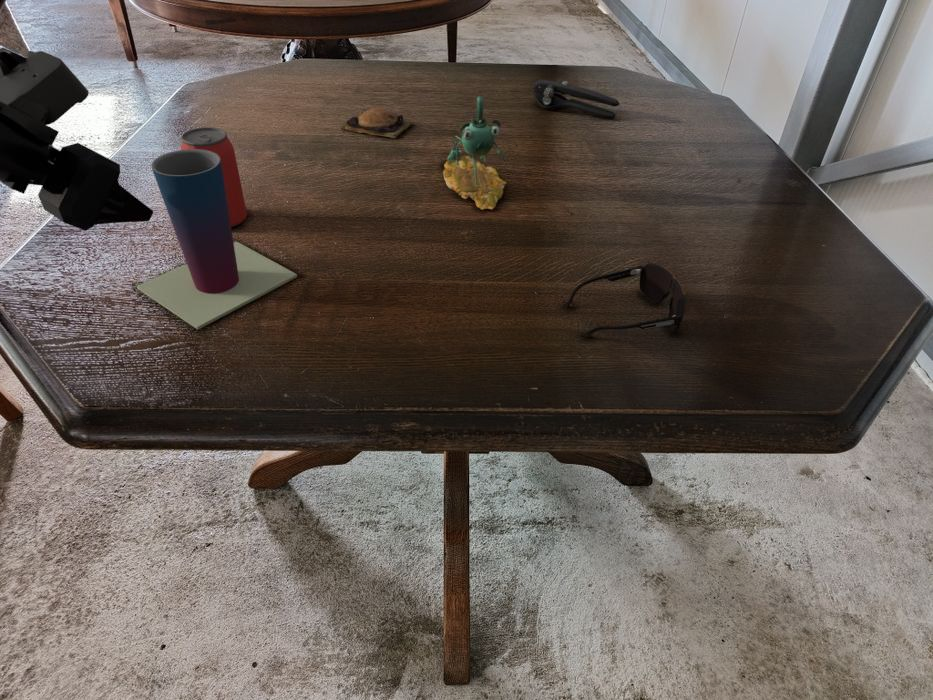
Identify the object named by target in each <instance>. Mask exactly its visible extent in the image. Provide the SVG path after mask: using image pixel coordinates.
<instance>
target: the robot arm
mask: <svg viewBox="0 0 933 700" xmlns="http://www.w3.org/2000/svg"><path fill="white" fill-rule="evenodd" d="M6 3H7V0H0V13H1V12H2V10H3V8H4V6H5V4H6ZM26 54H27V55H28V56H27V57H25V56H23V55H21V54H19V53H16V52H14V51H12V50H11V49H7V48H6V47H0V183H2V184H3V185H5V186H6V187H8V188H9V189H11V190H13V191H15V192H18V193H21V194H25V193H26V191H27V188H28V186H29V185H34V186H41V188H40V190H39V192H38V193H37V196H38V198H39V201H40V203H41V205H42V207H43V210H44V211H46V212H47V213H49V214H50V215H52V216H53V217H55V218H56V219H57V220H60V221H61V222H62V223H64V224H67V225H69V226H72V227H75V228H77V229H79V230H83V231H85V232H87V231H89V230H90V229H92V228H94V226H97V225H105V224H121V223H139V222H149V221H150V220H151V218H152V217H153V214H154V210H153V209H151V208H150V207H149V206H148V205H146V204H145V203H143V202H142V201H141V200H140V199H138V197H137V196H135V195H133V193H130V191H128V190H127V189H126V188H125V187H123V186H122V185H121V184H120V183H119V178H120V174H121V165H120V164H119V163H118V162H116V161H114V160H112V159H110V158H108V157H107V156H105V155H102V154H101V153H99V152H97V151H95V150H93V149H91V148H89V147H87V146H86V145H84V144H82V143H79V142H76V143H71V144H69V145H64V146H62V147H61V149H58V148H57V147H54V145H53V144H54V142H55V141H56V139H57V137H58V134H59V133H60V132H59V131H58V130H57V129H55V128H53V127H51V126H49V125H52V124H53V123H55V122H57V121H58V120H59V119H60V118H62V116H64V115H65V114H66V113H67V112H69V111H70V110H71V109H72V108H73V107H74V106H75V105H76V104H82V103H83V102H84V101H85V100H86V99H87V98H88V97H89V94H90V91H89V90H88V88H86V86H85V84H83V83H82V82H81V80H80V79H79V78H78V76H76V75H75V74H74V73H73V71H72V70H71V69H70V68H69V67H68V65H67V64H66V63H65V62H64V61H63V60H62V59H61V58H60V57H57V56H56V55H52V54H50V53H48V52H45V51H42V50H37V51H33V50H29V51H28V52H26Z"/></svg>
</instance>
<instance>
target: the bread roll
mask: <svg viewBox="0 0 933 700" xmlns="http://www.w3.org/2000/svg"><path fill="white" fill-rule="evenodd" d="M345 123H346V125H344V130H346V131H350V132H357V133H360V134H361V133H365V134H368V135H370V136H379V137H380V136H381V137H386V138H391V139H396V138H397V137H398V136H399V135H401V134H402V133H403V132H404V131H407V130H408V128H409V127H410V126H412V122H411V121H410V120H405V119H404V115H403V114H400V115H398V114H397V112H395V111H393V110H391V109H387V108H383V107H379V106H374V107H369V108H366V109H364V110H363V112H361V113H360V115H359V116H357V117H356V116H352V117H351V118H350V119H349V120H347V121H346V122H345Z"/></svg>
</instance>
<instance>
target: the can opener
mask: <svg viewBox="0 0 933 700" xmlns="http://www.w3.org/2000/svg"><path fill="white" fill-rule="evenodd" d="M564 95H569V96H570V97H573V98H570V99H567V97H566V96H564ZM533 97H534V99H535V101H536V102H537V104H538V105H539V106H540V107H542V108H543V109H545V110H555V109H560V108H568V109H569V108H570V109H573V110H577V111H580V112H582V113H585V114H587V115H589V116H593V117H597V118H602V119H609V120H612V119H614V118H616V116H617V115H616V114H615V112H614V111H612V110H610V109H606V108H603V107H601V106H597V105H594V104H591V103H587V102H584V101H581V100H577V99H574V98H578V99H582V100H586V101H589V102H594V103H599V104H602V105H607V106H611V107H618V106H620V101H619V100H618V99H616V98H613V97H611V96H609V95H607V94H603V93H600V92H597V91H594V90H592V89H588V88H585V87H582V86H579V85H573V84H571V85H570V83H569V81H565V80H564V81H562V82H560V81H555V80H554V81H553V80H549V79H548V80H547V79H538V80H536V82H535V83H534V84H533Z"/></svg>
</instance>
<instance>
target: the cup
mask: <svg viewBox="0 0 933 700" xmlns="http://www.w3.org/2000/svg"><path fill="white" fill-rule="evenodd" d="M150 166H151V171H152V173H153V175H154V179H155V181H156V184H157V185H158V186H157V187H158V190H159V192H160V195H161V197H162V199H163V203H164V205H165V208H166V211H167V214H168V217H169V219H170V222H171V224H172V228H173V230H174V232H175V233H174V234H175V235H176V238H177V241H178V245H179V246H180V249H181V252H182V255H183V257H184V260H185V262H186V263H185V264H187V265H188V268H189V271H190V274H191V276H192V279H193V282H194V284H195V287H196V288H197V289H198V290H199V291H201V292H204V293H221V292H225V291H227V290H230V289H231V288H233V287H234V286H236V284H237V283H238V281H239V276H238V269H237V263H236V256H235V249H234V237H233V231H232V227H231V223H230V217H229V210H228V204H227V197H226V190H225V184H224V177H223V171H222V164H221V159H220V157H219V155H218V154H216V153H214V152H211V151H207V150H201V149H186V150H181V149H180V150H174V151H169V152H167V153H164V154H161V155H159V156H158V157H157V158H155V159H154V160H153V161H152V162H151V165H150Z"/></svg>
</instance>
